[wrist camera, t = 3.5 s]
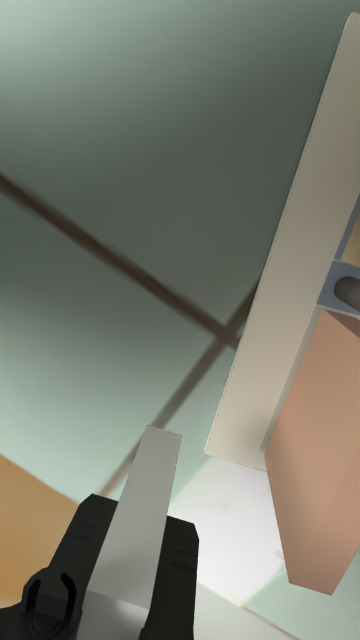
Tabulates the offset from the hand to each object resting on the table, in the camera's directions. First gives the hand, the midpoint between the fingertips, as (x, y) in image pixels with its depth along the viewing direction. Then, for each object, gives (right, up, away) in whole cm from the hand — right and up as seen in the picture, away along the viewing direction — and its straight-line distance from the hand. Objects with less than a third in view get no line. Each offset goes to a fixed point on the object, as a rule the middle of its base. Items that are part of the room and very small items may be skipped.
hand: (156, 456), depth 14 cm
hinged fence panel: (+8, +2, +4) cm, 9 cm away
